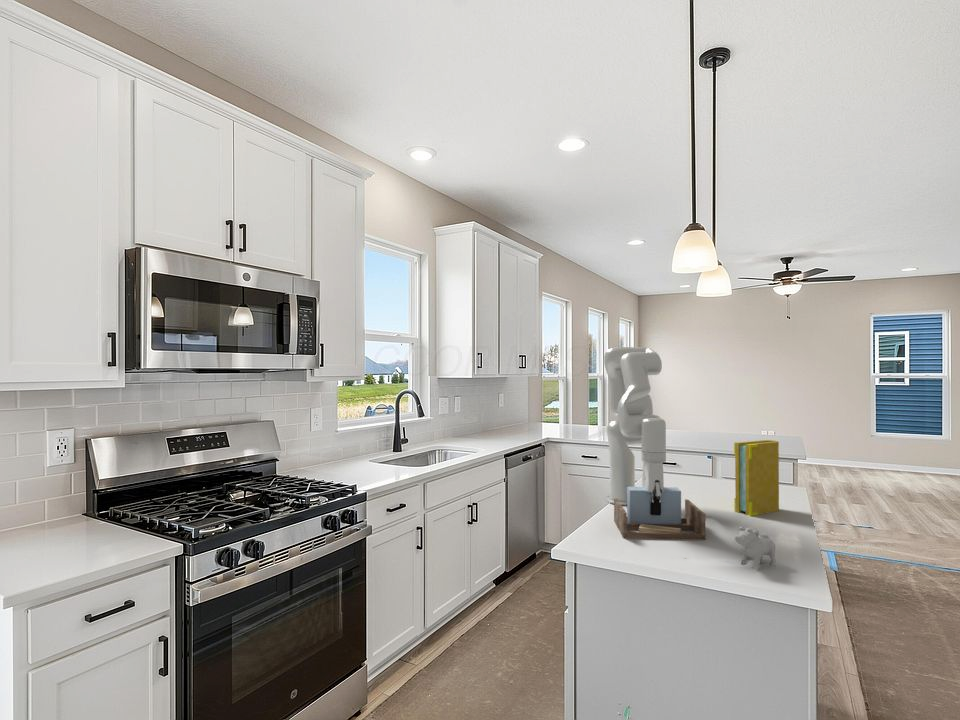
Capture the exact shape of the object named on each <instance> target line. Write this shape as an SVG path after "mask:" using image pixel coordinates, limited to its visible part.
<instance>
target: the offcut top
mask: <svg viewBox="0 0 960 720" xmlns="http://www.w3.org/2000/svg"><path fill="white" fill-rule="evenodd" d="M638 532H654V533H682V531H681V528H672V527H663V526H654V525H645V524H640V526H639V530H638Z"/></svg>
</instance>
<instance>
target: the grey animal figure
mask: <svg viewBox="0 0 960 720" xmlns="http://www.w3.org/2000/svg"><path fill="white" fill-rule="evenodd" d="M734 541H735V542H736V543H737V544H738V545H739V551H740V552H741V554H742V560H741V562H740V565H741V566H746V565H747V562H748V560H749V558H751V559H752V560H753V570H755V571H758V570H760V563H761V562H763V561H764V559H763V556H768V557H769V558H770V565H771V566H773V567H774V566H776V543H775V542H774V541H773V540H772V539H771V538H770V537H769V535H768V534H760V532H759V531H758V530H752V529H751V528H750V527H748V528H746V527H744V526H739V529H738V532H737V535H736V536H735V537H734Z"/></svg>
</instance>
